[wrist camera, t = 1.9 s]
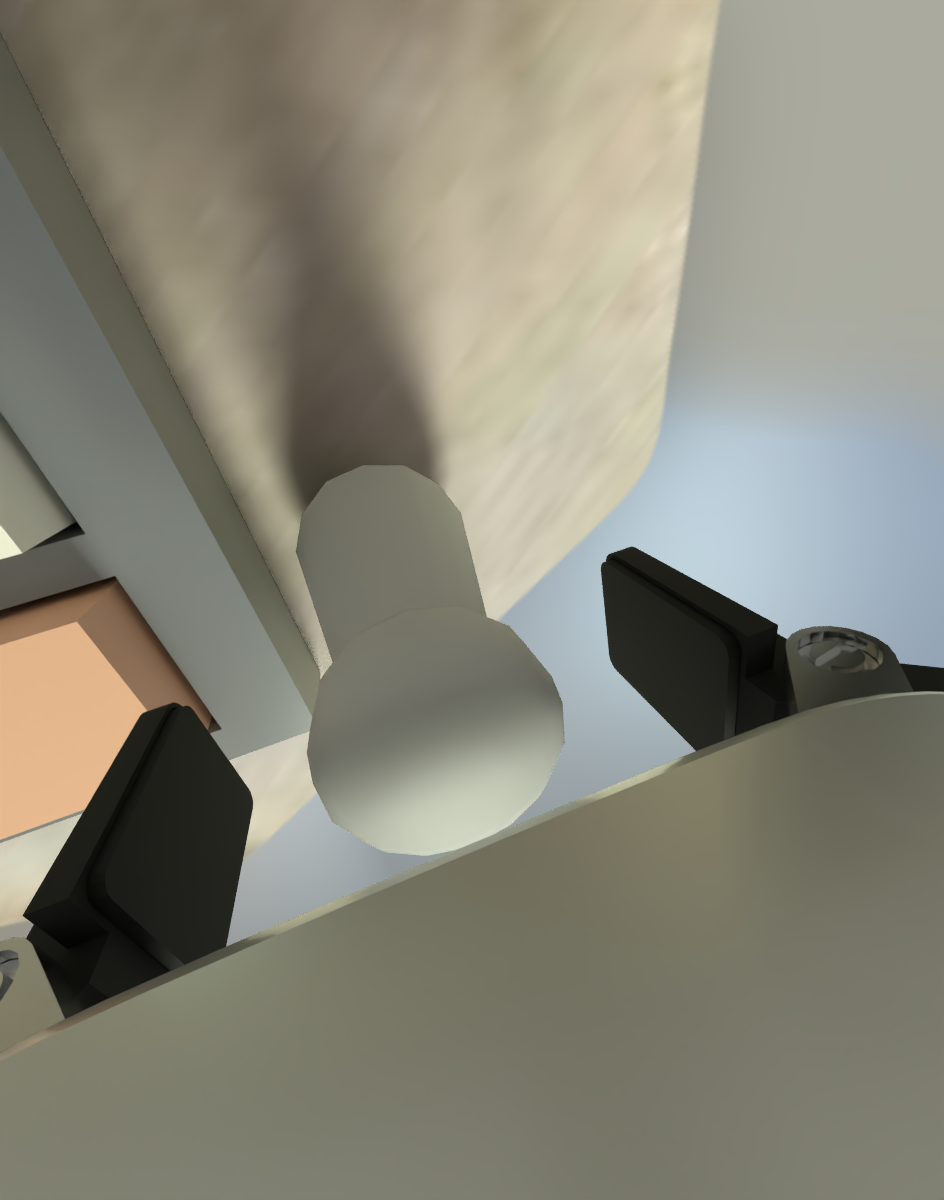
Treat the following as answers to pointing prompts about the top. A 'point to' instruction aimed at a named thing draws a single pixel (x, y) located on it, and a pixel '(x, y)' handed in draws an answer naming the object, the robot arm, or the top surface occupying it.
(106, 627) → the key terracotta
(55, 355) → the keypad
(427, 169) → the top surface
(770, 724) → the robot arm
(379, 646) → the salt shaker
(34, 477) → the key cream
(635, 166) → the top surface
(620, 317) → the top surface
